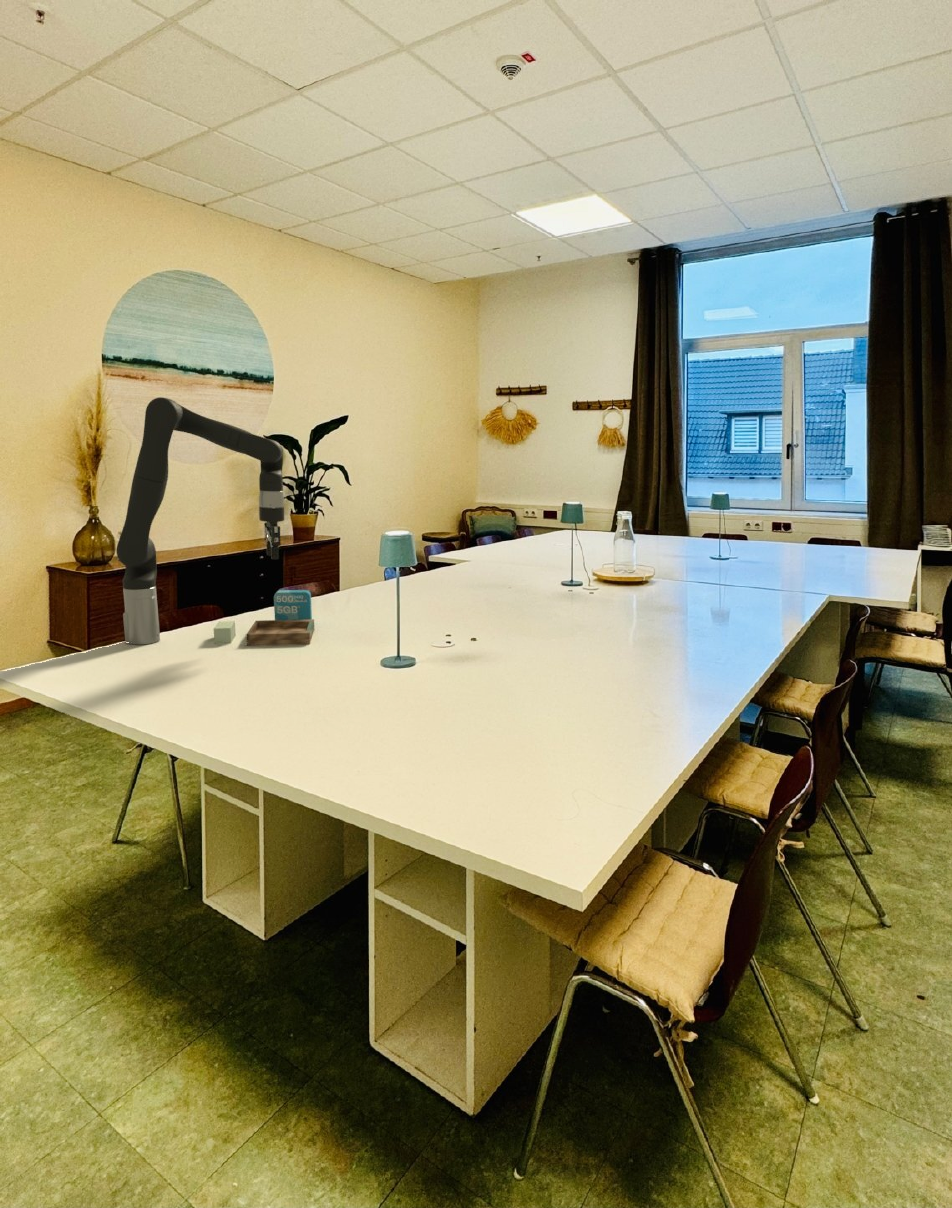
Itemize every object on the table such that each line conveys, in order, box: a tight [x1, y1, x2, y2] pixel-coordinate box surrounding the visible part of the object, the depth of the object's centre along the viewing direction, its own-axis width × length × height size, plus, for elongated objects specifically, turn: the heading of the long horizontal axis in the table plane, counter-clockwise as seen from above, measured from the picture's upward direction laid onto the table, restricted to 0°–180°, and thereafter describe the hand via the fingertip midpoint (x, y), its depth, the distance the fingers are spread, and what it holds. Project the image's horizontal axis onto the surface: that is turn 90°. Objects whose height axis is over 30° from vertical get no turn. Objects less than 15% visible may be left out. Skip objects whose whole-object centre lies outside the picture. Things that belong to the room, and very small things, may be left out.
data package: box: [273, 589, 313, 620], centre depth 250 cm, size 12×4×12 cm, turn 97°
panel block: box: [213, 620, 237, 645], centre depth 230 cm, size 5×10×5 cm, turn 11°
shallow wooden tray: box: [246, 618, 315, 647], centre depth 234 cm, size 19×20×4 cm
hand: (272, 557), depth 228 cm, fingers open, 8 cm apart
